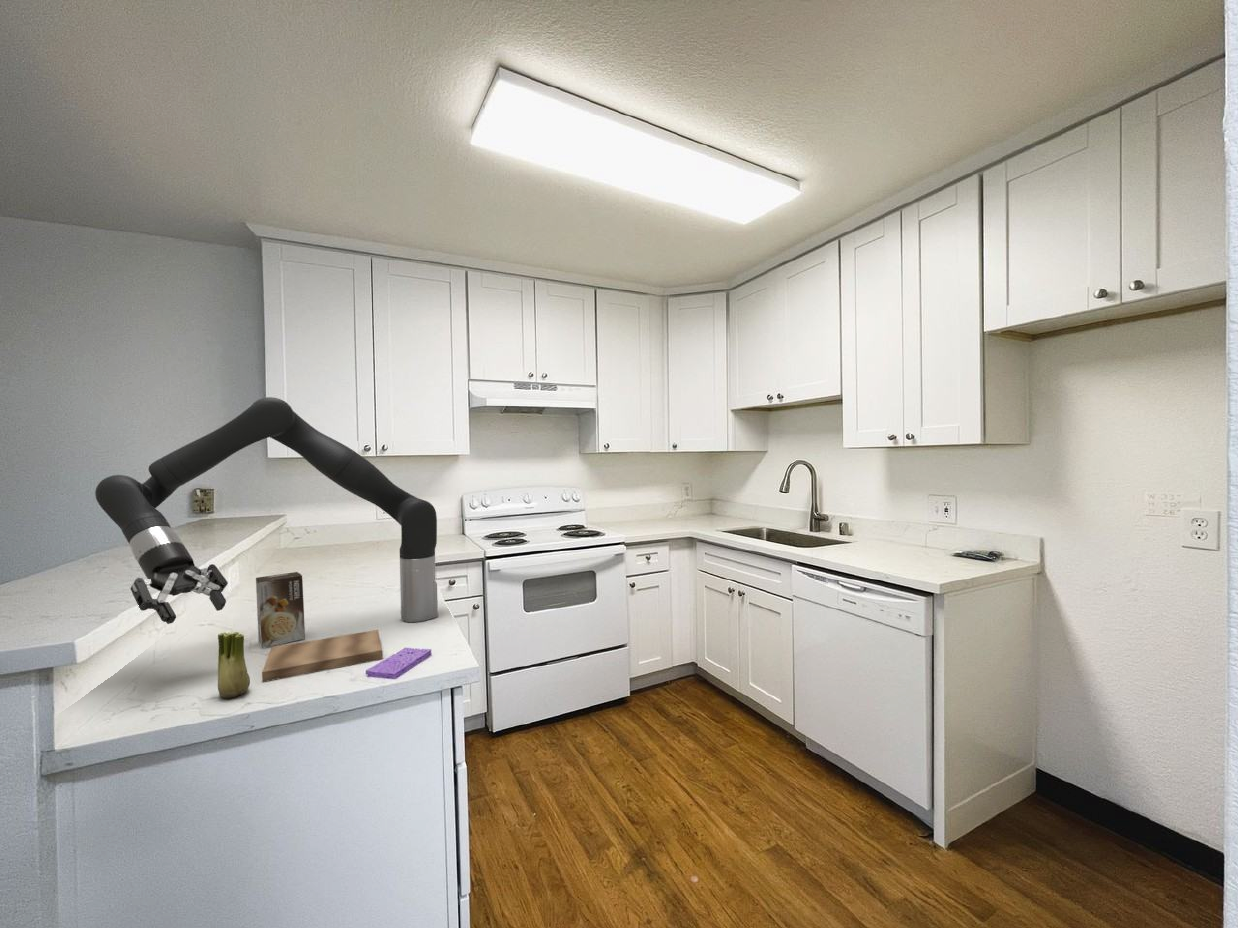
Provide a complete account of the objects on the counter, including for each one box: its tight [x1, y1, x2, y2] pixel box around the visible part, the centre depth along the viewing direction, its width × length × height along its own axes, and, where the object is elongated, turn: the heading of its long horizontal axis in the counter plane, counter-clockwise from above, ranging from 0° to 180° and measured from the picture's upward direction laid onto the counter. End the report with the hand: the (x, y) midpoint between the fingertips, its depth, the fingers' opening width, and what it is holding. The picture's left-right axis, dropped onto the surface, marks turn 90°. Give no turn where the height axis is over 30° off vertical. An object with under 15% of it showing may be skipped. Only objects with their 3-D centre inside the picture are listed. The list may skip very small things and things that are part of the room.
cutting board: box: [261, 629, 383, 683], centre depth 113 cm, size 22×15×2 cm
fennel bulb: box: [217, 631, 251, 699], centre depth 96 cm, size 6×5×12 cm
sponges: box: [365, 647, 432, 680], centre depth 108 cm, size 7×13×2 cm, turn 166°
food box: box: [255, 571, 306, 649], centre depth 123 cm, size 9×6×16 cm
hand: (198, 614), depth 99 cm, fingers open, 8 cm apart
